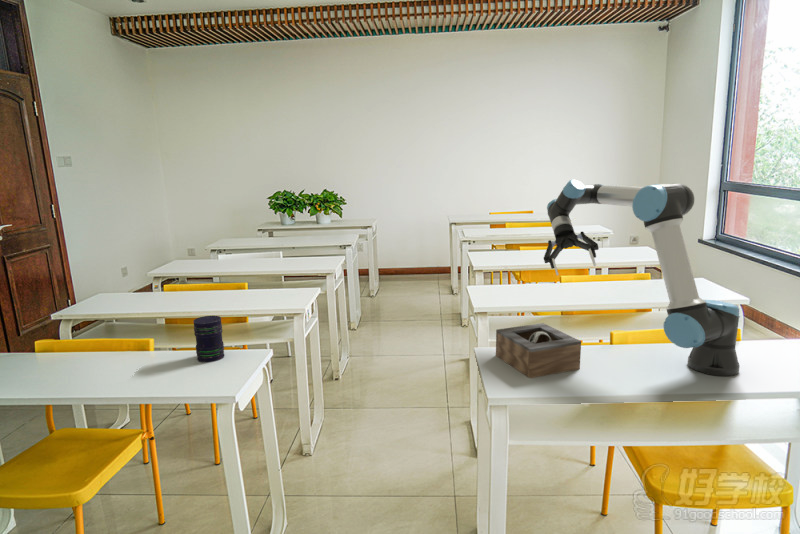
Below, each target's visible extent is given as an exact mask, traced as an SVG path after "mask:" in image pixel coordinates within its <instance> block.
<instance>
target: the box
mask: <svg viewBox="0 0 800 534" xmlns="http://www.w3.org/2000/svg"><path fill="white" fill-rule="evenodd" d="M538 331H542V332H545V333H547V334H548V335H549V336H550V338H551V341H549V337H548V336H546V335H544V334H540V336H539V337H538V340H537V342H536V343H535V344H533V343H532V342H530V341H529V338H530V336H531V335H532V334H533V333H534V332H535V333H536V332H538ZM495 332H496V333H495V335H496V336H495V356H496V357H497V358H499V359H501V361H503V362H505V363H506V364H507V365H509V366H511V367H512V368H514V369H515V370H516V371H518V372H520V373H521V374H523V375H524V376H526V377H527V378H529V379H533V378H538V377H543V376H547V375H548V376H549V375H555V374H559V373H560V374H561V373H565V372H571V371H577V370H580V368H581V356H582V355H581V353H582V352H581V351H582V341H581V340H580V339H577V338H575V337H573V336H571V335H569V334H567V333H564V332H563V331H560V330H558V329H556V328H554V327H552V326H550V325H549V324H546V323H544V322H542V323H541V322H540V323H534V324H528V325H527V324H526V325H519V326H513V327H512V326H511V327H506V328H505V327H503V328H498V329H496V330H495Z"/></svg>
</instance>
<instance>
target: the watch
mask: <svg viewBox="0 0 800 534" xmlns="http://www.w3.org/2000/svg"><path fill="white" fill-rule="evenodd" d="M540 334H544V335H546V336H548V337H549V341H551V338H550V336H549V335H548V334H547V333H545V332H542V331H538V332H536V333H535V332H534V333H533V334H532V335H531V336H530V338H529V341H530V342H532V343H533V344H535V343H536V342H537V340H538V337H539V336H540Z"/></svg>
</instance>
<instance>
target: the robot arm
mask: <svg viewBox="0 0 800 534" xmlns="http://www.w3.org/2000/svg"><path fill="white" fill-rule="evenodd" d="M587 204H598V205H611V206H620V207H621V206H623V207H632V211H633V214H634V216H635V217H636V218H637V219H639V220H640V221H642V222H643V225H644V228H645V230H647V231H649V232H650V233H651V236H652V239H653V243H654V247H655V251H656V255H657V259H658V261H659V262H658V263H659V266H660V270H661V273H662V278H663V281H664V285H665V289H666V293H667V297H668V300H669V303H668V305H667V306H666V312H667V316H666V318H665V319H664V320H665V321H664V322H663V326H662V327H663V332H664V335H665V336H666V337H667V340H669V341H670V342H671V343H672V344H674V345H675V346H677V347H679V348H682V349H690V348H692V349H691V350H690V353H689V355H688V357H687V366H688V367H689V368H690V369H693V370H694V371H697V372H700V373H703V374H707V375H711V376H718V377H732V376H736V375H738V374H739V373H740V363H739V359H738V354H737V351H736V344H737V337H738V329H739V322H740V320H739V319H740V308H739V307H738V305H736V304H734V303H731V302H726V301H720V300H715V299H702V298H701V297H700V295H699V292H698V289H697V285H696V281H695V277H694V273H693V270H692V266H691V263H690V260H689V255H688V252H687V248H686V244H685V240H684V236H683V233H682V229H681V224H682V223H683V221H684V217H683V216H685V215H687V214H688V213H689V212H690V211H691V210H692V209H693V207H694V205H695V195H694V192H693V190H692V188H690V187H689V186H688V185H685V184H683V183H676V182H675V183H674V182H673V183H654V184H649V185H646V186H632V185H631V186H630V185H628V186H627V185H606V184H600V183H596V184H586V185H585V184H584V183H583V182H581V181H580V180H576V179H570V180H568V181H567V183H566V184H565V186H563V188H562V190H561V191H560V193H559V194H558V197H557V198H555V199H552V200H551V201H549V202H548V203H547V206H546V210H547V215H548V218H549V221H550V224H551V228H552V231H553V235H554V238H555V240H553V241H552V240H551V239H550V240H548V241H547V243H548V244H547V248H546V250H545V252H544V256H543V260H544V261H543V262H544V264H548V263H549V265H550V268H551V270H552V269H554V270H555V275H556V276H560V274H559V272H558V268H557V265H556V261H555V260H556V258H558V256H559V255H560V253H561V252H562V251H563V250H564V249H568V248H573V247H576V248H579V249H580V248H581V249H583V250H585V251H587V252H588V255H589V256H590V259H591V263H592V264H593V267H596V266H597V264H596V260H595V258H597V253H596V251H598V250H599V244H598V243H597V242H595V241H594V240H593V239H592V238H590V237H589V236H588V235H586V234H585V232H584V231H580V233H578V234H577V233H576V232H575V229H574V227H573V224H572V221H571V218H570V213H571V212H572V211H573V210H574V209H575V206H576V205H587ZM555 245H556V247H555ZM553 248H554V250H553Z"/></svg>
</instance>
